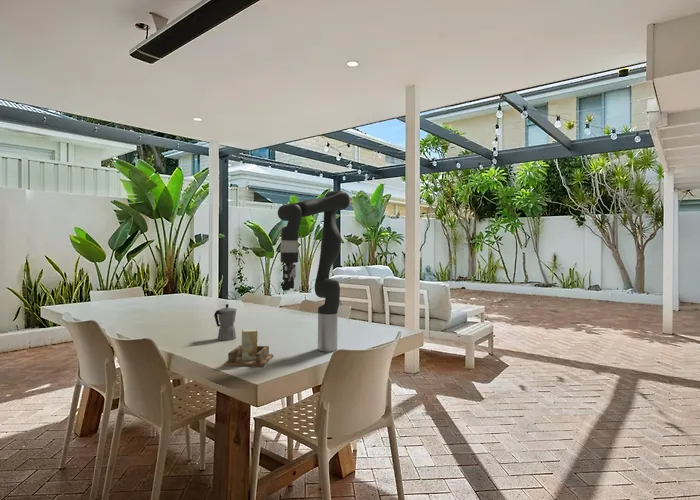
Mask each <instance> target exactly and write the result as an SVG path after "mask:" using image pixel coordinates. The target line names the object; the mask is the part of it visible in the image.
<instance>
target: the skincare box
mask: <svg viewBox="0 0 700 500" xmlns="http://www.w3.org/2000/svg"><path fill="white" fill-rule="evenodd" d="M258 334H259V331H258V329H255V328H253V329H241V345H242V348H241V359H242V361H244V360H256V354H257V346H258Z"/></svg>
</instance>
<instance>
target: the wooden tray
mask: <svg viewBox="0 0 700 500" xmlns="http://www.w3.org/2000/svg"><path fill="white" fill-rule="evenodd" d="M241 348H242V344H241V345H238V346H237V347H235V348H234V349H233V350H231V351H230V352H228V354H227V361H225V362H224V366H226V367H227V366H229V367H230V366H231V367H256V368H257V367H258V368H261V367H262V368H263V367H265V366H266V365H267V364H268V363H269V362H270V361H271V359H273V358H274V354H273V353H270V352H269V351H270V347H269V345H257V354H256V360H244V361H242V359H241Z"/></svg>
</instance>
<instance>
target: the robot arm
mask: <svg viewBox="0 0 700 500" xmlns="http://www.w3.org/2000/svg"><path fill="white" fill-rule="evenodd" d="M350 201H351V199H350V195H349V194H348V192H347V191H344V190H333V191H327V192H326V194H325V195H324V197H319V198H318V197H317V198H310V199H306V200H301V201H299V202H293V203H287V204H283V205H281V206H280V207H279V208H278V210H277V216H278V218H279V219H280V220H281V221H284V222H287V223H286V226H284V227H282V228H281V231H280V232H281V233H280V238H281V239H280V241H281V242H280V263H282V264H283V263H284V265H282V281H283V283H284V284H283V285H284V286H283V288H284V289H283V290H284V291H287V292H288V291H291V289H294V288H295V279H296V276H297V275H296V271H297V270H296V267H297V265H296V263H299V228H300V225H301V223H302V219H303V218H307V217H310V216H314V215H317V214H320V213H323V225H322V235H321V242H320V243H321V244H320V251H319V252H320V253H319V254H320V255H319V261H318V268H317V273H316V276H315V277H316V278H315V282H314V294H315V296H316V297H318V298H321V299H325V300H324V303H323V304H322V305H320V306H318V308H317V351H320V352H325V353H326V352H327V353H329V352H330V353H331V352H335V350H336V351H337V350H338V321H339V320H338V312H339V311H338V310H339V307H340V299H341V298H340V297H341V295H340V294H341V287H340V286H341V285H340V283H339V281H338V279H337V280H336V279H334V278H330V272H331V269H332V266H333V264H335V261H336V259H337V258H338V256H339V255H340V252H341V246H342V245H341V243H342V236H341V233H340V230H339V228H338V226H337V222H336V215H337V214H336V213H337V211H342V210H346V209H347V208H348V207H349V205H350ZM294 263H295V264H294Z"/></svg>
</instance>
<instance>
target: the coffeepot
mask: <svg viewBox="0 0 700 500" xmlns="http://www.w3.org/2000/svg"><path fill="white" fill-rule="evenodd" d="M236 315H237V308H233V307H229V304H225V307H223V308H220V309H218V310H215V312H214V314H213V317H214V320H215V323H216V327H219V328H218V334H217V340H218V341H221V342H222V341H223V342H224V341H225V342H227V341H233V340H236V339H237V334H236V329H235V326H234V325H235V324H234V323H235V322H236Z"/></svg>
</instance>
